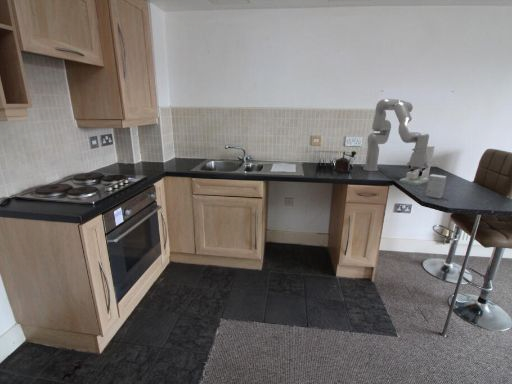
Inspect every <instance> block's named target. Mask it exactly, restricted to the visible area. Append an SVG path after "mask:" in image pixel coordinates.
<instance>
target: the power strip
mask: <svg viewBox="0 0 512 384" xmlns="http://www.w3.org/2000/svg"><path fill="white" fill-rule="evenodd" d="M411 172H414V173H411ZM411 172H410V171H408V172H406V177H407V178H412V179H414V178H417V177H419V168H418V169H415V170H414V171H411ZM424 174H425V170H424V171H423V172H422V176H423V175H424ZM406 177H405V178H406Z"/></svg>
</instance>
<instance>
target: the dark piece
mask: <svg viewBox="0 0 512 384" xmlns="http://www.w3.org/2000/svg"><path fill="white" fill-rule="evenodd" d="M355 155H357V151H355V150H353V151H351V154H347V153H346V151H343V155H342V157H340V158H337V159H336V160H335V166H334V167H335V169H334V172H339V173H348V172H350V165H351V160H350V159H347V158H346V157H345V156H348V157H351V158H355Z"/></svg>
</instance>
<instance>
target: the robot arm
mask: <svg viewBox="0 0 512 384" xmlns="http://www.w3.org/2000/svg"><path fill="white" fill-rule="evenodd" d="M413 108H414V107H413V104H412V102H410V101H406V100H401V99H395V98H383V99H381V100H379V101H378V102H377V103H376V105H375V112H374V113H375V114H374V117H373V123H372V127H371V129H372V130H373V132H372V133H370V134H369V135H368V136H367V149H366V150H367V151H366V155H365V156H366V157H365V163H361V165H360V166H361V167H363V168H362V170H364V171H368V172H378V171H379V168H378V160H379V154H380V146H379V145H385V144H386V143H387V142H388V140H389V137H390V133H391V129H392V123H391V121H389V120H388V119H386V118H387V112H386V111H393V112H394V113H395V116H396V117H397V119H398V123H399V125H398V134H399V136H400V139H401V140H402V142H403V143H405V144H410V143H411V144H415V145H414V148H412V149H411V150H412V151H413V152H411V155H410V159H409V161H408V162H407V163H406V166H407V167H408V168H409V170H410V171H409V172H411V171H414V168H415V167H416V168H420V171H419V177H420V176H422V172H423V171H424V170H425V169H427V168H429V167H428V165H427V163H426V162H427V153H426V150H427V145H429V139H430V135H429V133H420V132H415V131H413V132H412V131H409V129H408V124H409V123H410V122H411V121H412V116H411V112H412V111H413ZM423 167H425V168H423Z"/></svg>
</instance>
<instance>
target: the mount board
mask: <svg viewBox="0 0 512 384" xmlns="http://www.w3.org/2000/svg"><path fill="white" fill-rule="evenodd" d="M418 169H419V168H418ZM419 171H420V169H419ZM411 173H414V172H411ZM428 180H429V177H428V178H424V177H417V178H414V179H412V178H407V177H403V178H400V179H399V183H403V184H408V185H412V186H420V185H423V184H425V183H428Z"/></svg>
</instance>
